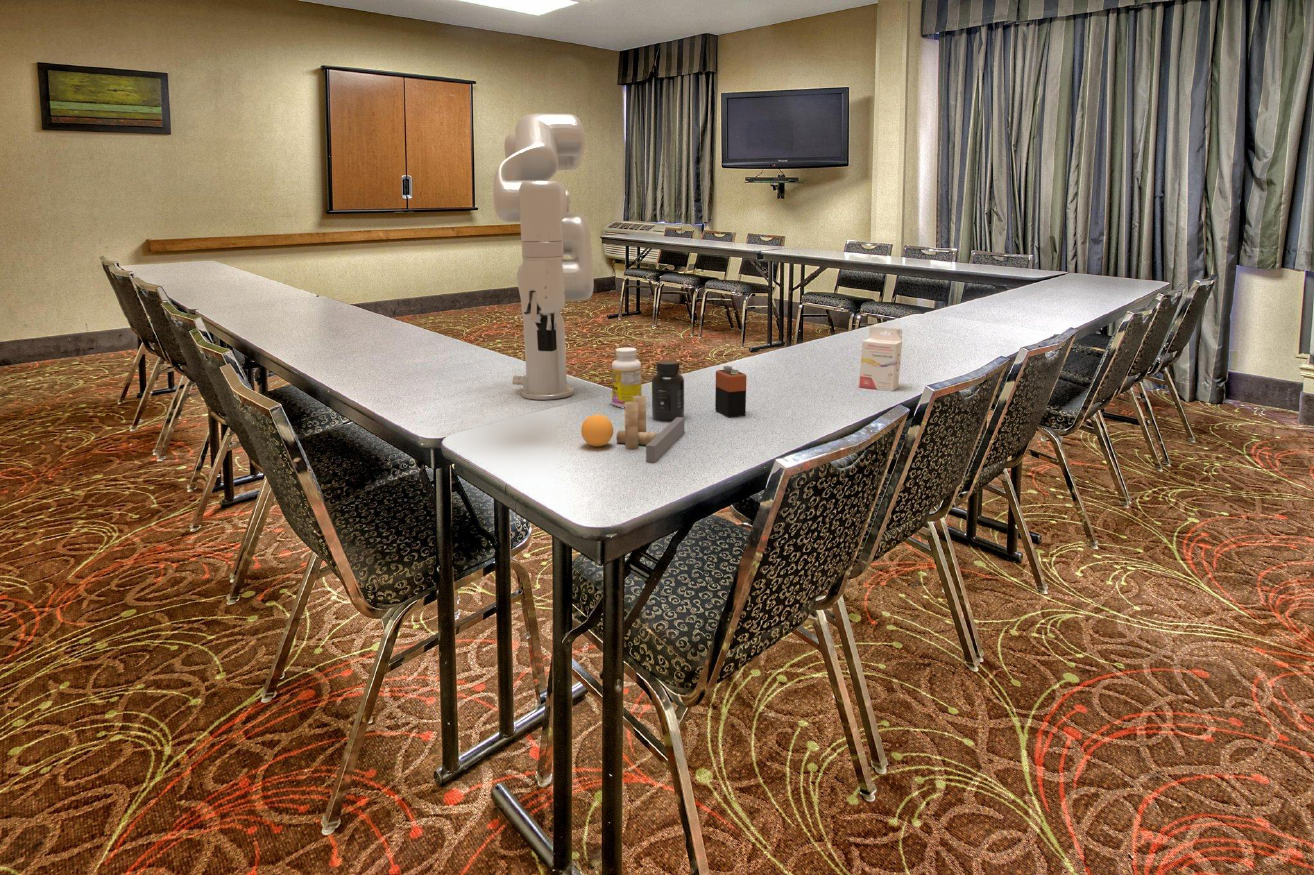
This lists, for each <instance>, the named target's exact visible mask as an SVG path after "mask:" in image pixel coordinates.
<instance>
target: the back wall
mask: <svg viewBox="0 0 1314 875" xmlns="http://www.w3.org/2000/svg"><path fill="white" fill-rule="evenodd" d="M658 433H659V434H658V435H657V436H656V437H655V438H654V439H653V440H651V441H650V442H649V443H648V444H647V445H645V462H646V463H656V462H657V461H658V460H659V459H660V458H662V456H663V455H664V454H665V453H666V452H667V451H668V450H669V449H670V448H671V447H672V446H673V445H674V444H675V442H676V441H678V440H679V438H681V436H682V435H683V434H685V417H683V418H682V417H676V418H675V419H674V420H673V421H670V423H669V424H667V426H666V427H665V428H662V430H661V431H660V432H658Z"/></svg>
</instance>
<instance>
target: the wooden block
mask: <svg viewBox="0 0 1314 875" xmlns="http://www.w3.org/2000/svg"><path fill="white" fill-rule="evenodd" d="M659 433H660V432H658V433H657V432H648V431H646V432H638V446H639V445H642V446H646V445H647V444H648V443H649V442H650V441H651V440H653V439H654V438H655V437H656V436H657V435H658V434H659ZM615 439H616V443H618V444H625V430H617V432H616V438H615Z"/></svg>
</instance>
